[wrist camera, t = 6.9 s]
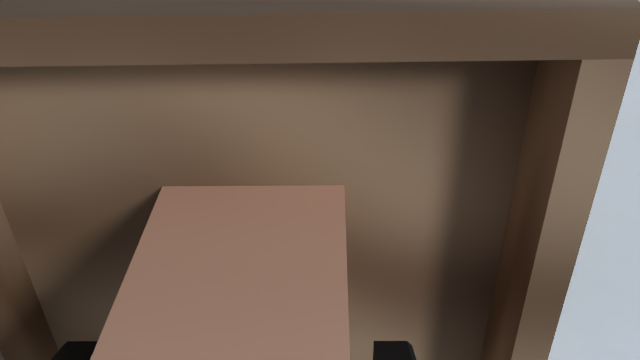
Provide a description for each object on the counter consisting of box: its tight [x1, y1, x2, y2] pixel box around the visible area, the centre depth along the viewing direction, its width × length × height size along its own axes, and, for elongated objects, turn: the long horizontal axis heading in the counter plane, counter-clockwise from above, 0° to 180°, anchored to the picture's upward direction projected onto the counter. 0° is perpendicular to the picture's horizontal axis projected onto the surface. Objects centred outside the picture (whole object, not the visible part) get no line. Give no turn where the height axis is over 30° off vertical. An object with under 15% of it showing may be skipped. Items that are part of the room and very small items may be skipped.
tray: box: [0, 0, 640, 360], centre depth 14 cm, size 13×13×2 cm
